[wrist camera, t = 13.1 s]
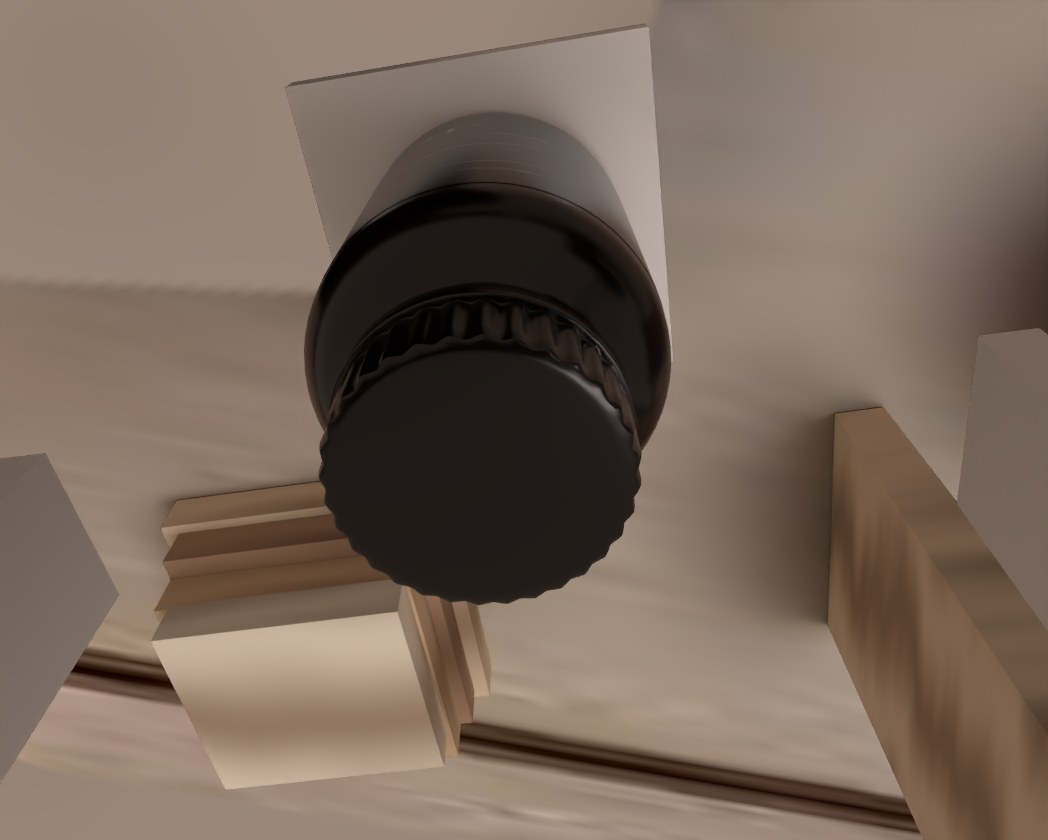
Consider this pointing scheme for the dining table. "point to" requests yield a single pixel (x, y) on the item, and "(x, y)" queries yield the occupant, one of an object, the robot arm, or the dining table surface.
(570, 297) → the supplement bottle
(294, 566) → the set of wooden blocks
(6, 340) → the dining table surface
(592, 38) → the grey pad
